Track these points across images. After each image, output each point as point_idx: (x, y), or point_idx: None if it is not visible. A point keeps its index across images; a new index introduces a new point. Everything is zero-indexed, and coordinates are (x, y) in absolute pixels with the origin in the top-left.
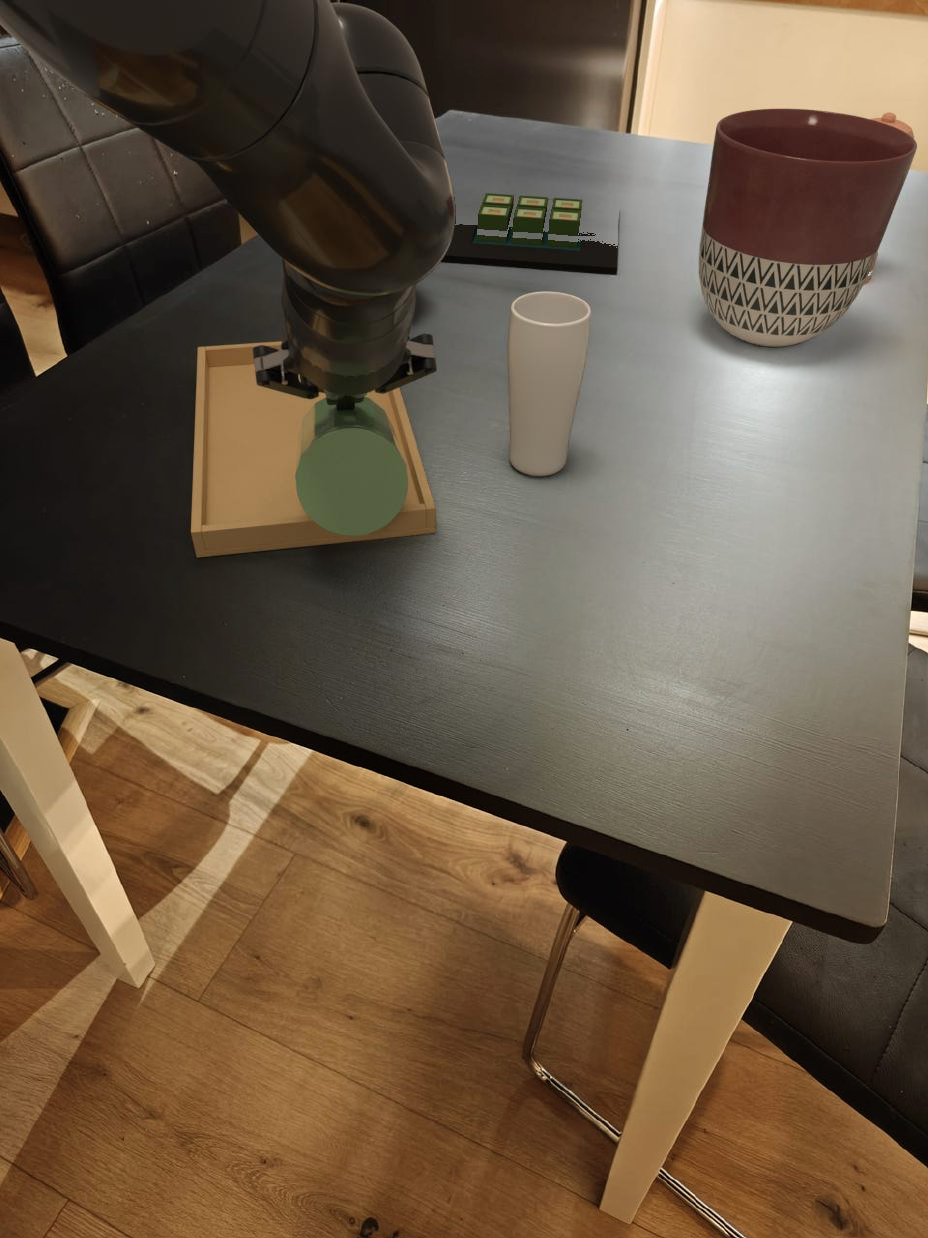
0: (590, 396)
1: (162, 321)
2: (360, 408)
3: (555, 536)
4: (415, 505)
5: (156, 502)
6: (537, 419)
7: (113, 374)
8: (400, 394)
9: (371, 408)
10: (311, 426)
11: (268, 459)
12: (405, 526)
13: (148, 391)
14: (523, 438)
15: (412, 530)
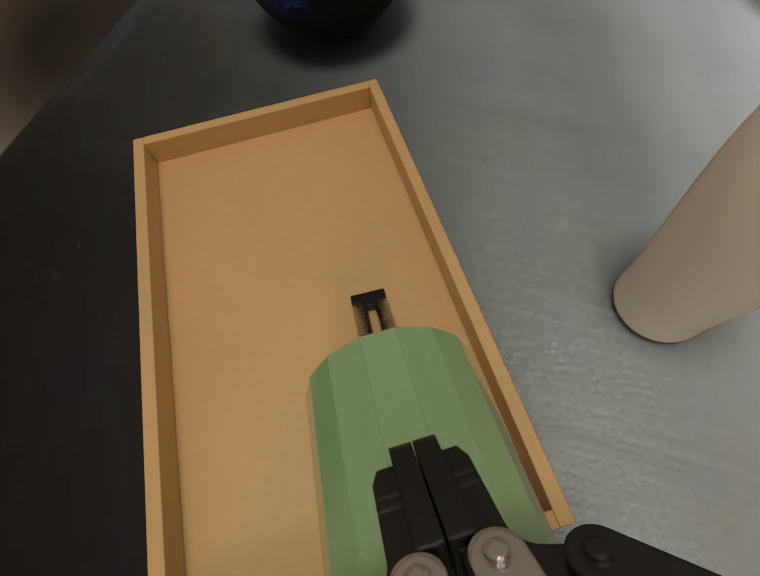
0: (669, 145)
1: (97, 80)
2: None
3: (754, 501)
4: None
5: (107, 487)
6: (736, 310)
7: (39, 189)
8: (431, 205)
9: (464, 418)
10: (350, 550)
11: (262, 362)
12: None
13: (85, 217)
14: (678, 317)
15: None
